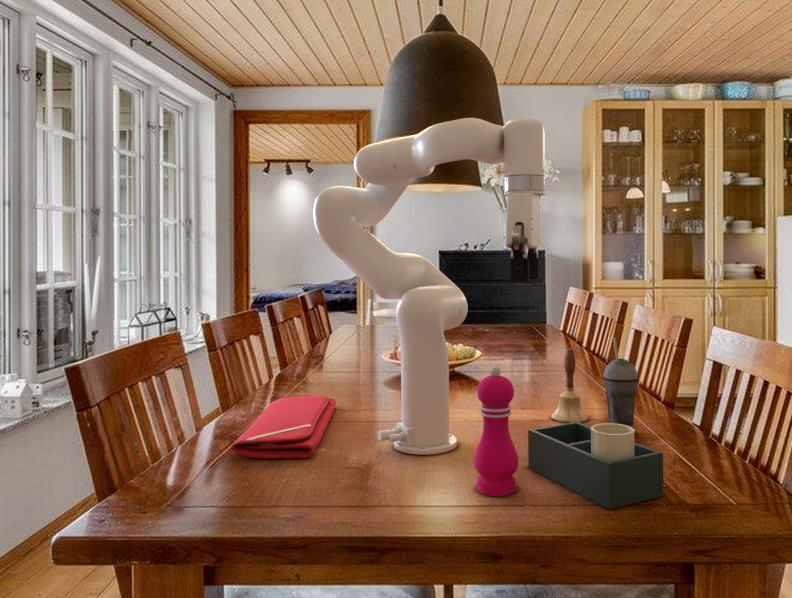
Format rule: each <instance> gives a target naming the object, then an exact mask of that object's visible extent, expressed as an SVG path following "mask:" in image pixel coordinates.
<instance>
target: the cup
mask: <svg viewBox="0 0 792 598" xmlns="http://www.w3.org/2000/svg"><path fill="white" fill-rule="evenodd" d="M635 431H636V430H635V428H634V427H633V428H632V427H630V426H627V425H622V424H615V423H609V422H604V423H602V422H601V423H596V424H593V425H592V426H591V454H592V455H594V456H597V457H599V458H601V459H604V460H606V461H609V462H611V461H616V460H621V459H625V458H630V457H635V443H636V440H635V439H636V437H635V436H636V433H635Z"/></svg>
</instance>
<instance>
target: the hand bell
mask: <svg viewBox="0 0 792 598" xmlns="http://www.w3.org/2000/svg"><path fill="white" fill-rule="evenodd" d="M564 355H565V356H564V359H563V366H564V371H565V377H566V379H565V384H566V385H565V391H563V392H561V393H560V395H559V399H558V405H557V407H556V409H555V411H554V412H553V413H552V414H551V416H550V417H551V419H553V420H554V421H556V422H561V423H572V422H580V423H584V422H586V421H588V419H589V417H588V415H587V414H586V413H585V412H584V409H583V408H582V405H581V399H580V398H581V397H580V395H579V394H578V393H576V392H575V391H574V375H575V372H576V371H575V370H576V363H577V362H576V361H577V360H576V356H575V353H574V349H573V348H567V349H566V352H565V354H564Z"/></svg>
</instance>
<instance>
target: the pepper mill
mask: <svg viewBox="0 0 792 598" xmlns="http://www.w3.org/2000/svg"><path fill="white" fill-rule="evenodd" d="M501 373H502V370H501V368H500V367H499V366H498V365H493V366H492V367H490V369H489V374H490V375H488V376H485V377H483V378H482V379H481V380H480V381H479V382H478V384H477V388H476V395H477V398H478V400H479V402H480V403H481V405H480V407H479V408H480V412H479V413H480V415H481V416H482V422H483V425H482V433H481V437H480V440H479V443H478V445H477V447H476V450H475V453H474V456H473V466H474V469H475V470H476V472H477V473H478V474H479V475H478V476H477V478H476V489H477V491H478V492H479V493H480V494H482V495H485V496H489V497H504V496H505V497H506V496H508V495H512V494H513V493H514V492H515V491H516V489H517V488H516V486H517V485H516V483H517V482H516V480H517V479H516V478H515V476H514V474H515V473H516V472H517V470H518V469H519V456H518V451H517V450H516V449H517V448H516V447H515V445H514V442H513V439H512V438H511V433H510V430H509V429H510V428H509V427H510V426H509V417H510V416H511V415H512V412H511V409H512V406H511V405H510V403H511V402H512V401H513V399H514V396H515V389H514V385H513V383H512V382H511V380H509V378H507V377H506V376H503V375H501Z"/></svg>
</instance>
